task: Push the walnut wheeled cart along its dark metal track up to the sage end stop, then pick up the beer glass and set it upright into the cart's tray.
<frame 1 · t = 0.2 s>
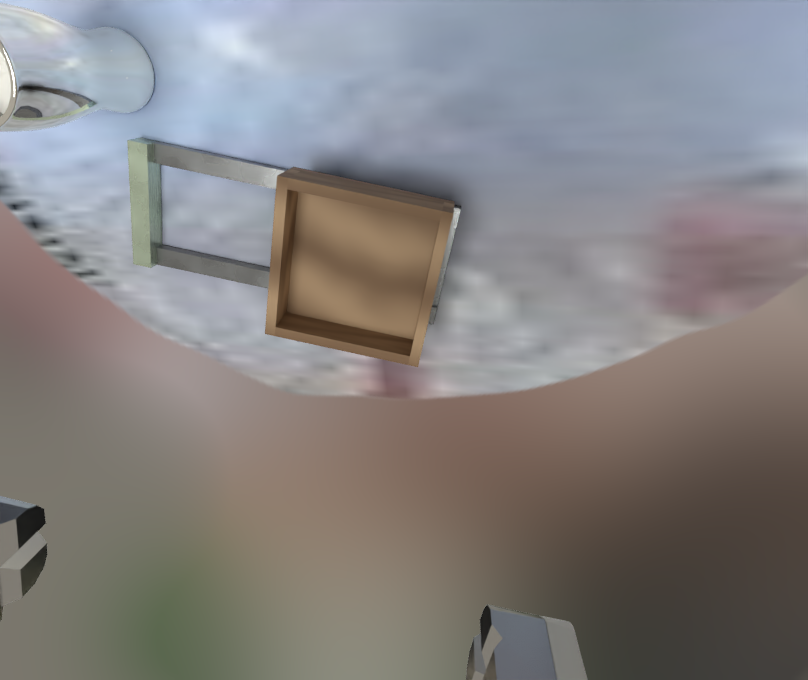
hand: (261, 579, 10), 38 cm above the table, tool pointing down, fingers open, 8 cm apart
cart: (359, 265, 43), point 4 cm above the table, slide at 0.0 cm
beer glass: (119, 71, 42), on the table
track: (296, 233, 47), on the table
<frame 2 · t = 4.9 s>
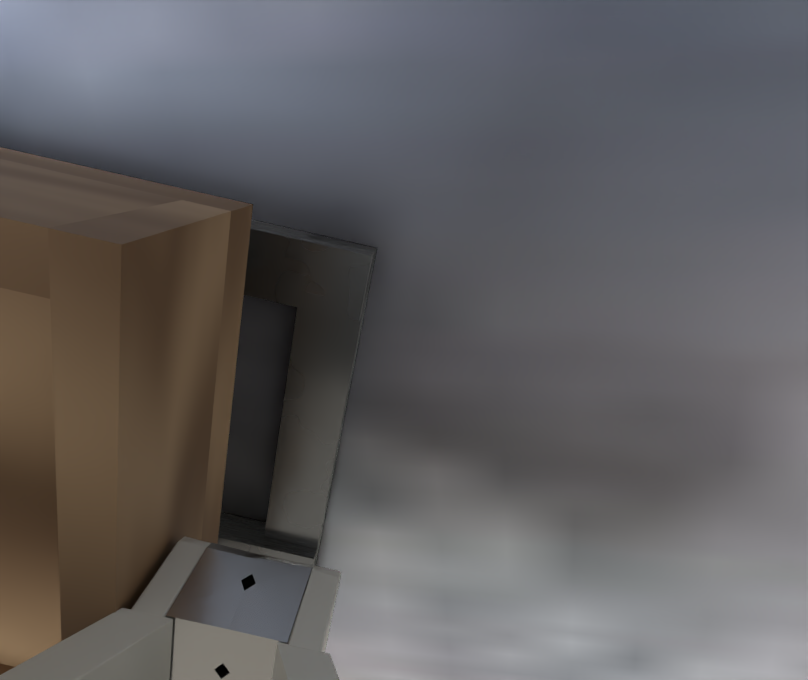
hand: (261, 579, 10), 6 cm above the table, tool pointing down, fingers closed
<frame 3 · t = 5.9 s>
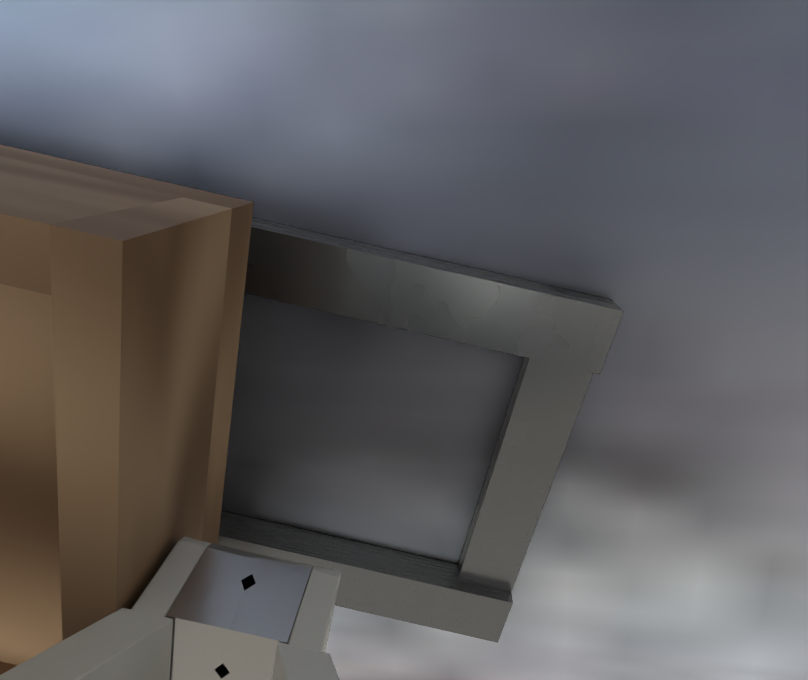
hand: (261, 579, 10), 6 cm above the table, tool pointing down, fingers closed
track: (76, 369, 15), on the table
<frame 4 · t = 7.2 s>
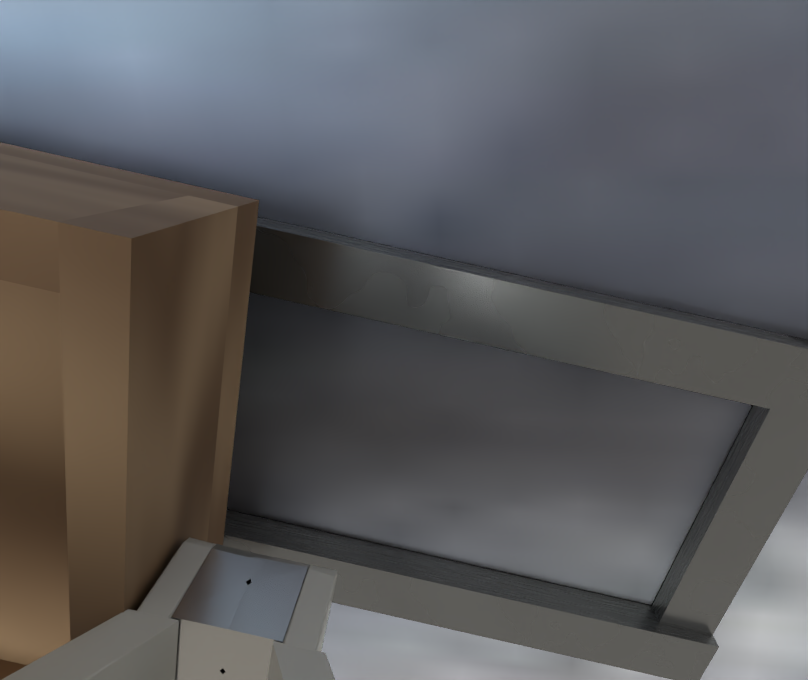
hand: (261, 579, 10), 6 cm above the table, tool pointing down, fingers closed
track: (285, 415, 15), on the table
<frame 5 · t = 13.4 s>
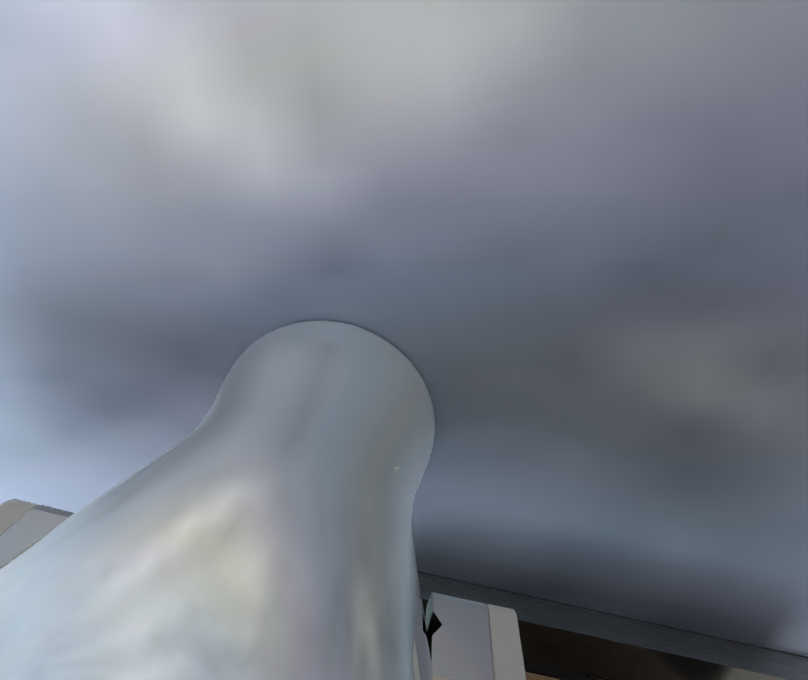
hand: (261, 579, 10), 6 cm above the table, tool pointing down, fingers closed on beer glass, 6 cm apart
beer glass: (330, 416, 15), on the table, touching gripper
when the fingers open (12 cm above the table, at t = 19.6 s): beer glass moves 3 cm, resting on cart.
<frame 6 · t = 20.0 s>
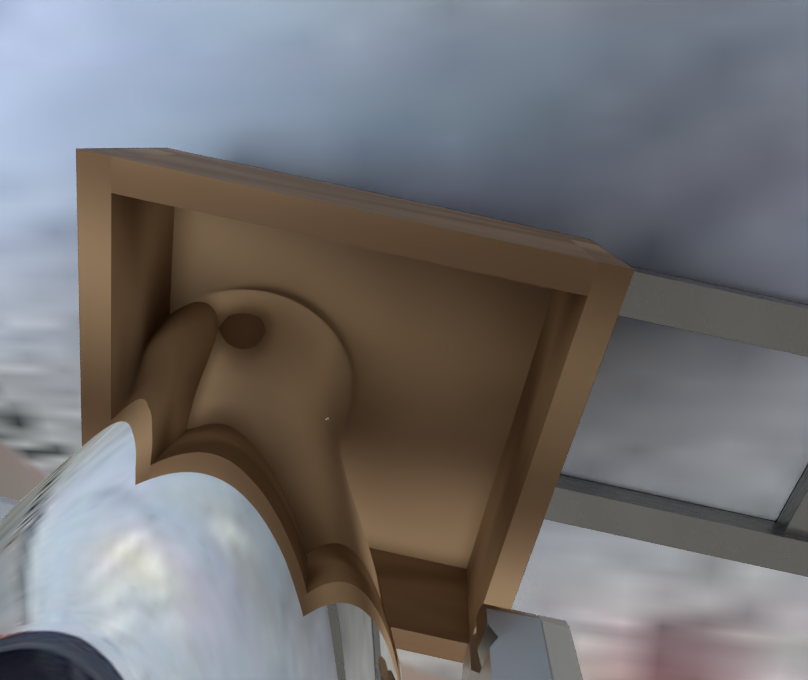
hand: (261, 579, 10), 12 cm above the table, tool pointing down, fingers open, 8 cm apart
cart: (338, 397, 17), point 4 cm above the table, slide at 13.0 cm, touching beer glass
beer glass: (252, 379, 16), point 5 cm above the table, touching cart, gripper
track: (521, 382, 21), on the table
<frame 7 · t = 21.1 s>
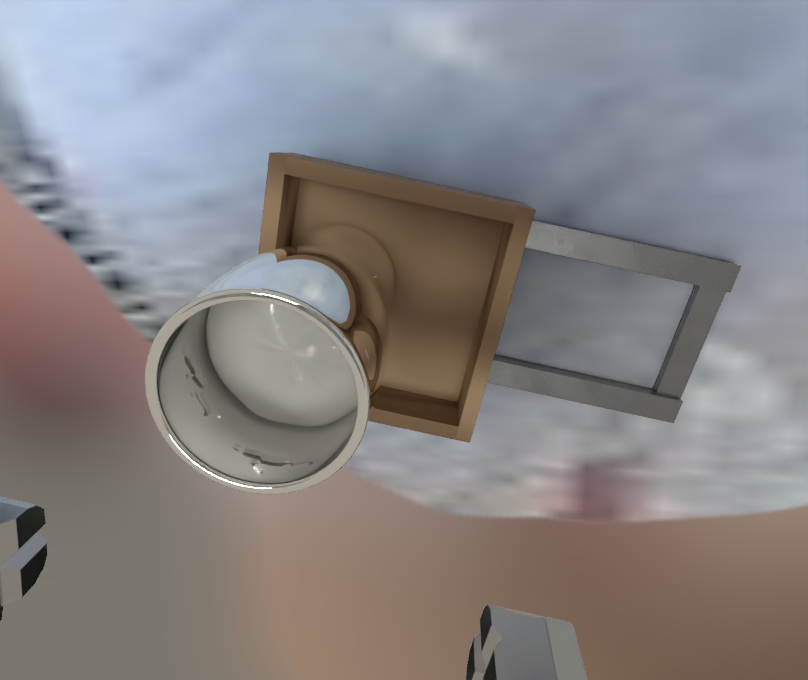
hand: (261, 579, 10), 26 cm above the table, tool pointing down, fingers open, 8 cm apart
cart: (384, 293, 30), point 4 cm above the table, slide at 13.0 cm, touching beer glass
beer glass: (341, 279, 30), point 4 cm above the table, touching cart
track: (491, 298, 34), on the table
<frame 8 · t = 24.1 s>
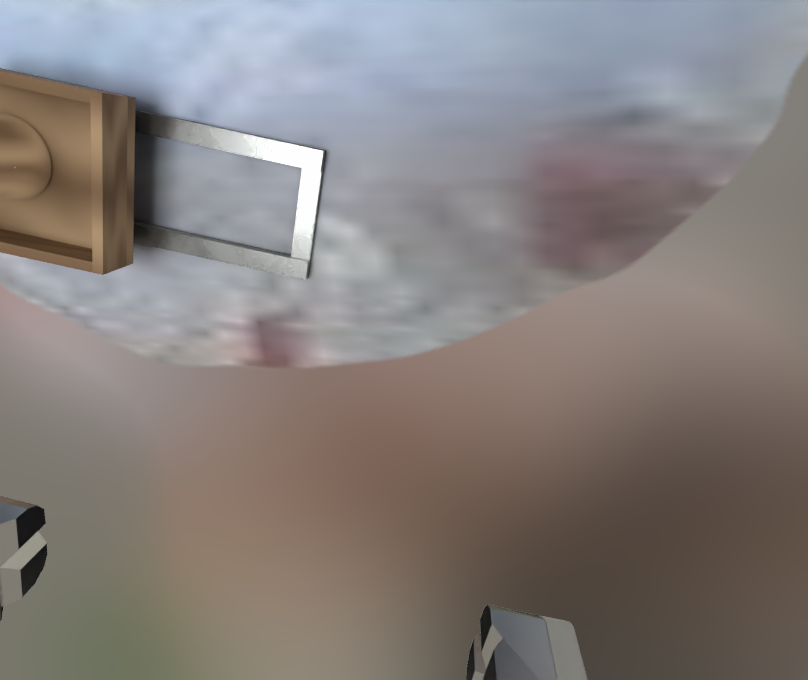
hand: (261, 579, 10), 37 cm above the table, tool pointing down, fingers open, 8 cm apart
cart: (47, 168, 40), point 4 cm above the table, slide at 13.0 cm, touching beer glass
beer glass: (16, 157, 40), point 4 cm above the table, touching cart
track: (159, 182, 44), on the table
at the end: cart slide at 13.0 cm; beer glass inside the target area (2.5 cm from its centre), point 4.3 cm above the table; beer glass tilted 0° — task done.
